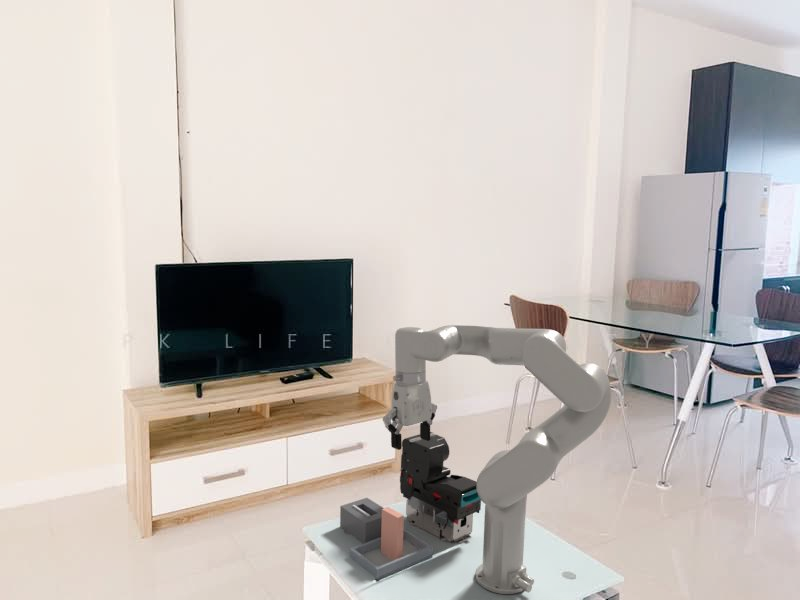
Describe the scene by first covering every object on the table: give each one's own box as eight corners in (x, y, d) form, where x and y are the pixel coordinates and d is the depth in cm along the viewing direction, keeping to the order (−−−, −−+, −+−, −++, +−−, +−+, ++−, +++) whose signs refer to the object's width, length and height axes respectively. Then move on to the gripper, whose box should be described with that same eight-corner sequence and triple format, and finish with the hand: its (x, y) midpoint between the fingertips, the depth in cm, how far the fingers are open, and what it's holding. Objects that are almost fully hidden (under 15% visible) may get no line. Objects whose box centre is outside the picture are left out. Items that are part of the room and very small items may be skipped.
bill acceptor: (457, 552, 157) (461, 460, 154) (397, 520, 173) (399, 437, 170) (483, 539, 164) (486, 450, 161) (422, 509, 180) (425, 429, 177)
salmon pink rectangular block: (402, 560, 151) (403, 515, 150) (396, 563, 150) (397, 517, 148) (386, 550, 156) (387, 506, 154) (380, 553, 154) (381, 509, 153)
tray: (432, 557, 154) (432, 546, 154) (376, 581, 143) (377, 569, 143) (403, 538, 163) (404, 528, 163) (349, 559, 152) (349, 548, 152)
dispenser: (392, 538, 163) (392, 512, 162) (365, 548, 158) (365, 521, 157) (366, 520, 173) (367, 496, 172) (340, 529, 167) (340, 504, 166)
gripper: (393, 385, 141) (394, 456, 143) (445, 374, 152) (445, 439, 154) (373, 380, 147) (374, 448, 149) (425, 369, 158) (426, 432, 160)
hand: (411, 443), depth 151 cm, fingers open, 9 cm apart
